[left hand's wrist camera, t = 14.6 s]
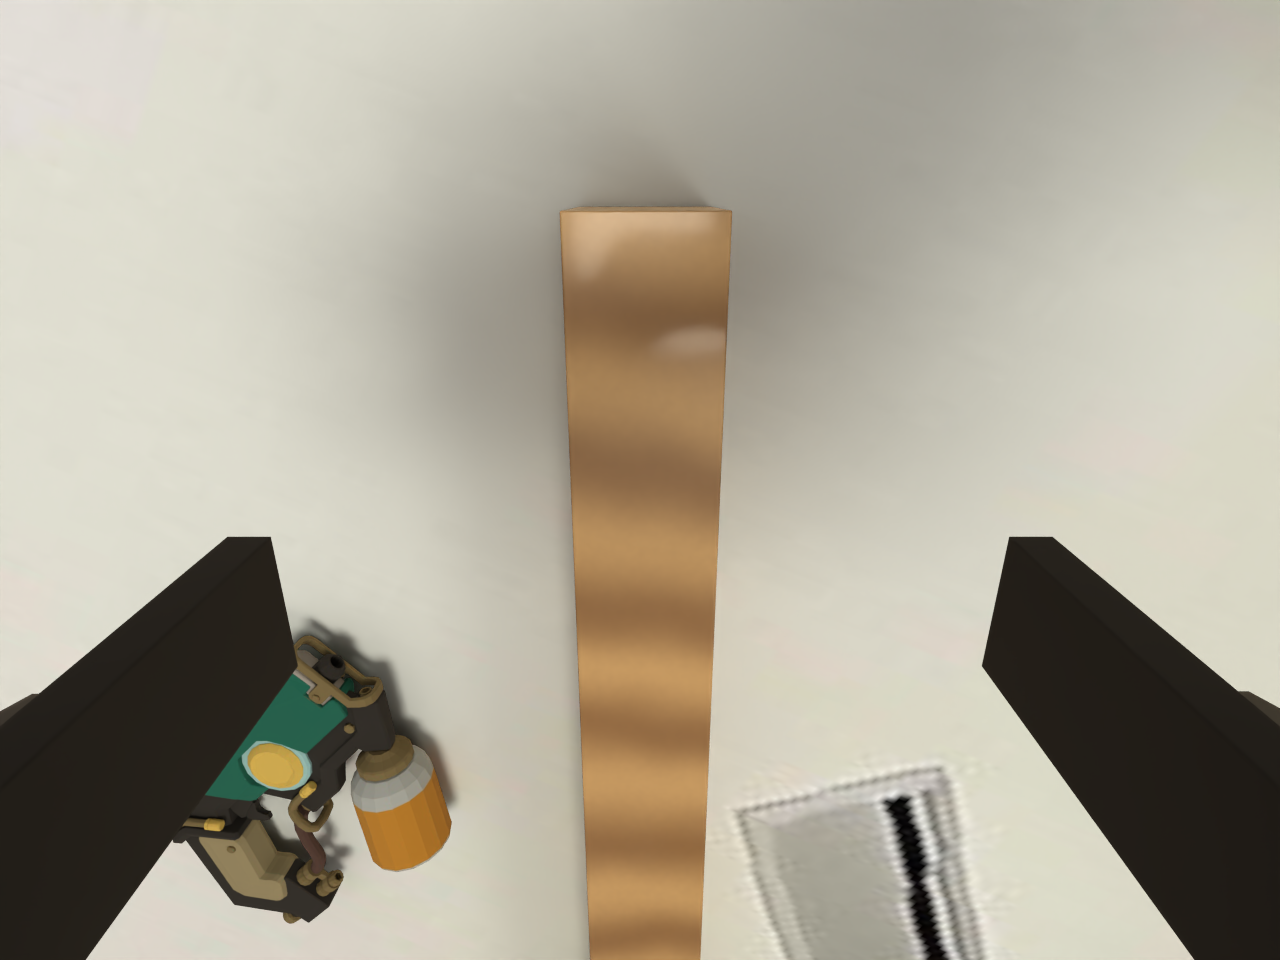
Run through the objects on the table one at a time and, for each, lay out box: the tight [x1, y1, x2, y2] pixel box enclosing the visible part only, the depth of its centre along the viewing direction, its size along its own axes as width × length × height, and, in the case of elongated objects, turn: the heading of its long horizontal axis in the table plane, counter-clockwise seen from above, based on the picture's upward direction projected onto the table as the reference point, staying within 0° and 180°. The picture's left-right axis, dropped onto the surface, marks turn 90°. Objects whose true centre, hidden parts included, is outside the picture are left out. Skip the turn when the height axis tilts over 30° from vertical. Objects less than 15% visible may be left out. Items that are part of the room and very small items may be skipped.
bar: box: [560, 207, 732, 960], centre depth 40 cm, size 76×5×7 cm, turn 0°
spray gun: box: [173, 636, 452, 923], centre depth 38 cm, size 4×17×15 cm
